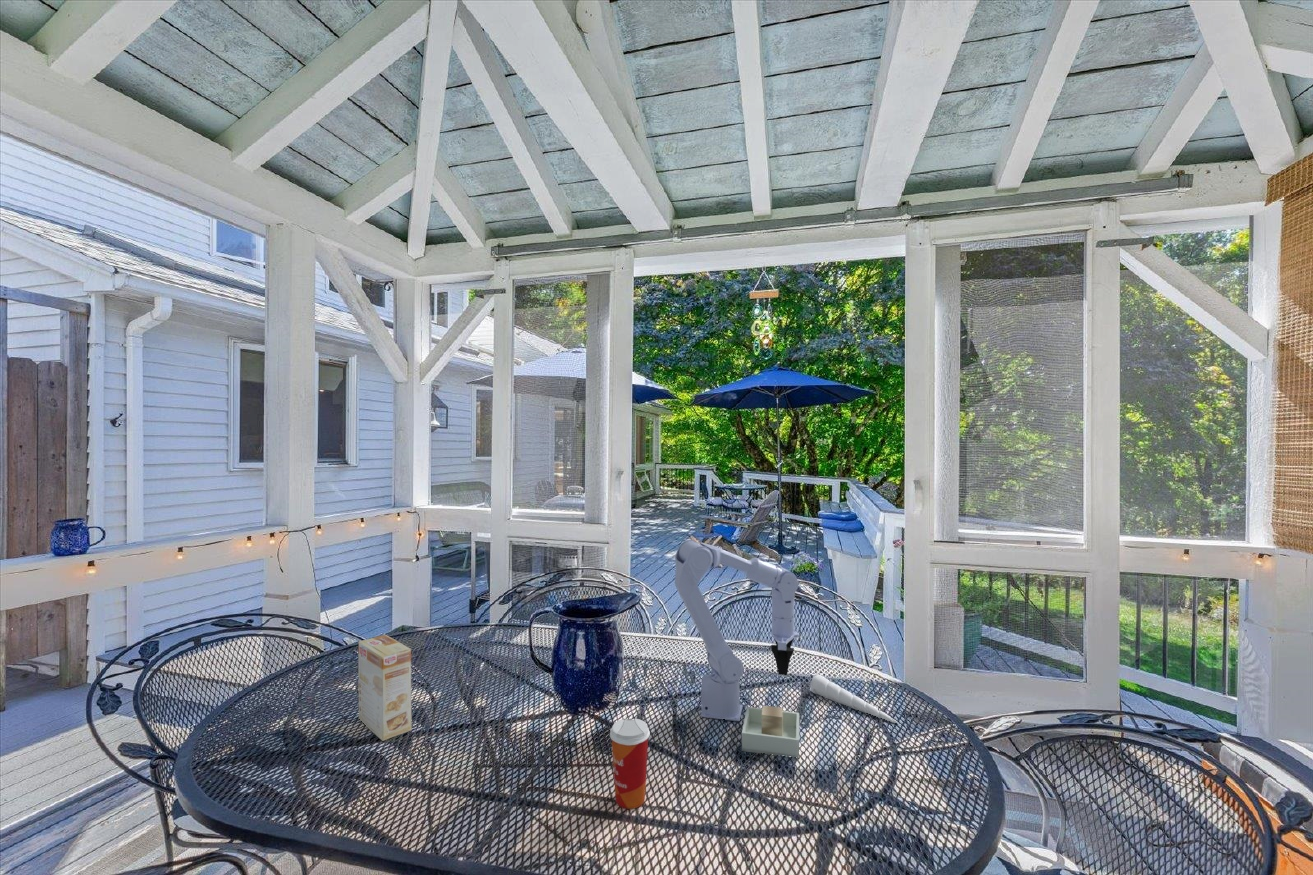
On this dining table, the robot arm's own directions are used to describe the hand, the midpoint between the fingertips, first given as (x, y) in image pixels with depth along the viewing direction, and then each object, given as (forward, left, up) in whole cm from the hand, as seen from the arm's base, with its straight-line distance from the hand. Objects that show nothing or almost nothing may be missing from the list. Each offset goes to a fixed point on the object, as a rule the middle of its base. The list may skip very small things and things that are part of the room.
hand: (783, 667), depth 145 cm
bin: (-2, -18, -9) cm, 20 cm away
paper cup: (-27, -46, -10) cm, 54 cm away
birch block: (-2, -18, -9) cm, 20 cm away
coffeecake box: (-93, -34, -10) cm, 99 cm away
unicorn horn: (+17, +4, -10) cm, 20 cm away
